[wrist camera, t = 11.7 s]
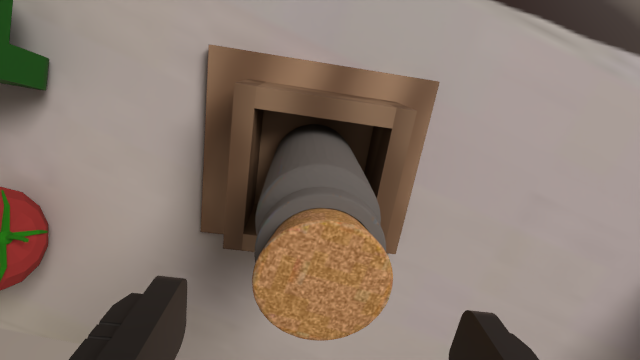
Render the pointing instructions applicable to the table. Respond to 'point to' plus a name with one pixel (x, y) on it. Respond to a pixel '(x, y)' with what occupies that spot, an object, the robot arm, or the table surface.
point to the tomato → (20, 236)
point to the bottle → (319, 239)
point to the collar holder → (297, 110)
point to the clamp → (19, 57)
